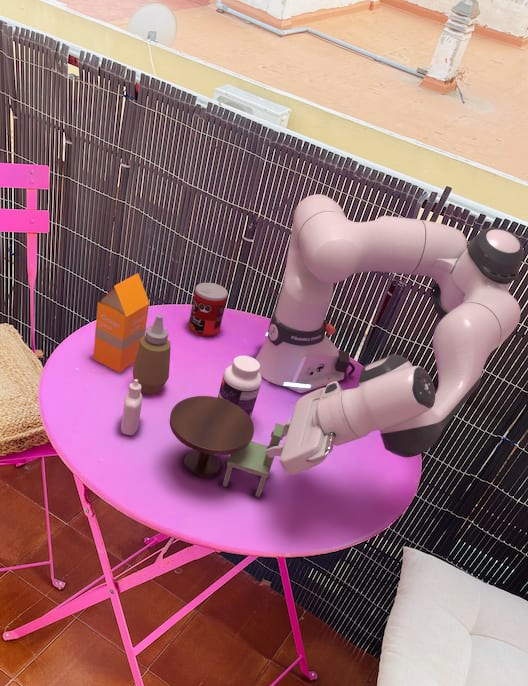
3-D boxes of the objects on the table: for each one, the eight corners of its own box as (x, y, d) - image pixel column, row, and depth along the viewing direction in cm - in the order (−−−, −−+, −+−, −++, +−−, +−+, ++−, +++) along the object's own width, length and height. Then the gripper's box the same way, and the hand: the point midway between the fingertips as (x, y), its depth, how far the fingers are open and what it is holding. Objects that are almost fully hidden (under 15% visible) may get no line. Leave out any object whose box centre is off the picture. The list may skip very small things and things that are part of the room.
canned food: (183, 322, 174) (190, 282, 166) (212, 320, 177) (220, 281, 169) (194, 338, 169) (202, 299, 162) (223, 336, 172) (232, 297, 164)
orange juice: (92, 358, 157) (99, 279, 143) (115, 343, 162) (124, 265, 149) (119, 373, 154) (129, 293, 140) (142, 357, 160) (153, 279, 146)
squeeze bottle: (168, 380, 155) (180, 310, 143) (164, 401, 149) (177, 330, 137) (133, 373, 155) (142, 303, 142) (128, 394, 149) (137, 323, 136)
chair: (268, 472, 137) (286, 418, 128) (260, 498, 132) (279, 444, 122) (230, 460, 138) (245, 406, 129) (220, 485, 132) (236, 430, 123)
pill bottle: (207, 408, 150) (220, 353, 140) (240, 404, 152) (255, 350, 142) (222, 432, 144) (236, 376, 134) (255, 427, 147) (272, 372, 137)
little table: (248, 453, 141) (261, 410, 133) (231, 504, 129) (244, 460, 122) (175, 430, 143) (183, 386, 135) (151, 478, 131) (159, 434, 123)
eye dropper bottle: (112, 428, 140) (118, 380, 132) (130, 416, 144) (137, 369, 135) (128, 438, 138) (135, 391, 130) (146, 426, 142) (153, 379, 134)
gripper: (339, 469, 114) (268, 492, 121) (351, 401, 128) (287, 426, 136) (321, 441, 111) (250, 466, 119) (336, 375, 126) (271, 401, 134)
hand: (270, 444), depth 128 cm, fingers closed on chair, 3 cm apart
